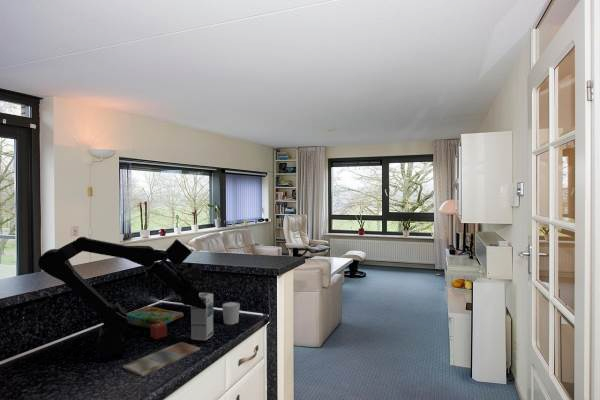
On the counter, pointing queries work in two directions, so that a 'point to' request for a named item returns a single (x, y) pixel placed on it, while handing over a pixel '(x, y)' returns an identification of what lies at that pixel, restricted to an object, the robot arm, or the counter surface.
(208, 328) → the syrup box
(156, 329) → the red die
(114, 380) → the counter surface
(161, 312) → the puzzle game
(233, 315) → the shot glass
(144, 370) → the game board
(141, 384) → the counter surface
